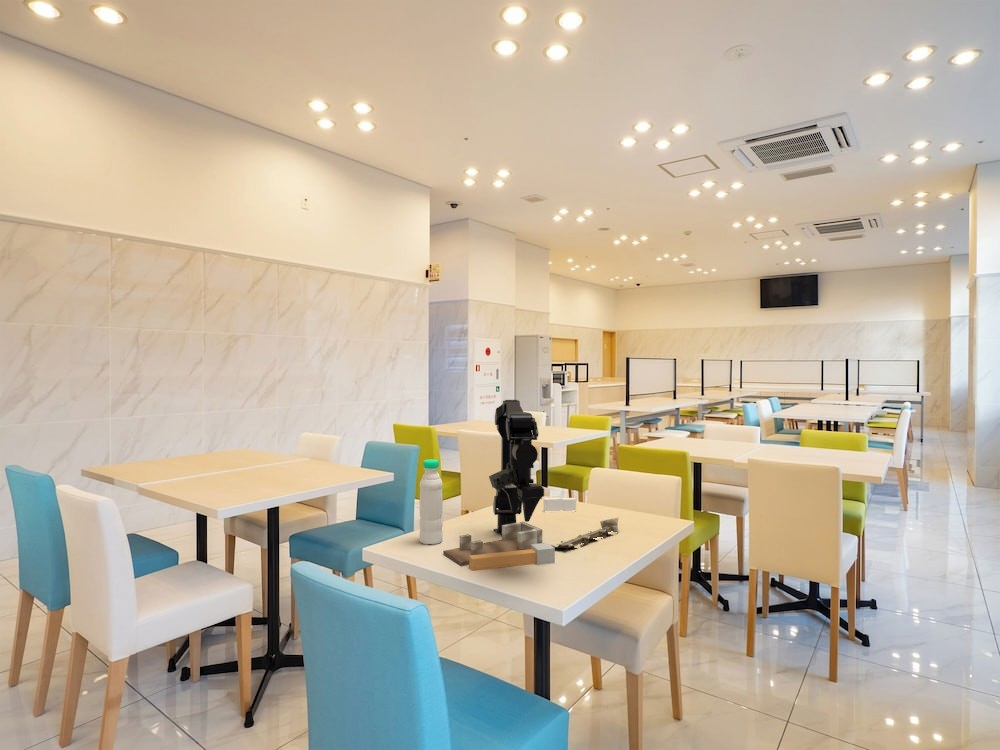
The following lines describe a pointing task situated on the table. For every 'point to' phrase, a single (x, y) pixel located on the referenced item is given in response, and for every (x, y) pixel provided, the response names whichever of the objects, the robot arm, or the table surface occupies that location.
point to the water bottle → (431, 504)
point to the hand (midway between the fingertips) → (520, 517)
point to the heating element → (591, 534)
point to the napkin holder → (559, 504)
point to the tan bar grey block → (514, 557)
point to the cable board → (497, 542)
